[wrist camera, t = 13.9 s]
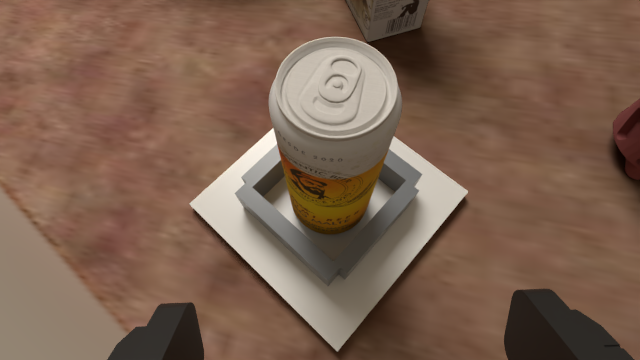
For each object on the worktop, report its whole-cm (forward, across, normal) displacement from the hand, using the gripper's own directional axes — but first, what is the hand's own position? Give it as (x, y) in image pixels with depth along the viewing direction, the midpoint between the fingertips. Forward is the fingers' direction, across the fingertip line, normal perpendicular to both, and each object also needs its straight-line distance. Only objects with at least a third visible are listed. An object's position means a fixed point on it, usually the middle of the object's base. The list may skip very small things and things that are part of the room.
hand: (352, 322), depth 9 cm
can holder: (+20, 0, +6) cm, 21 cm away
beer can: (+20, 0, +6) cm, 21 cm away
